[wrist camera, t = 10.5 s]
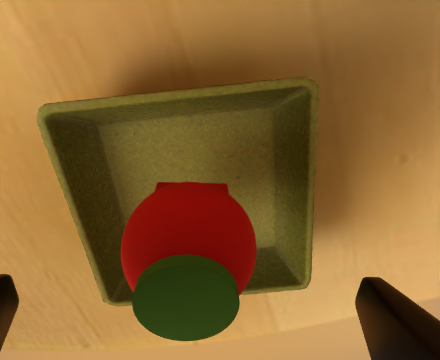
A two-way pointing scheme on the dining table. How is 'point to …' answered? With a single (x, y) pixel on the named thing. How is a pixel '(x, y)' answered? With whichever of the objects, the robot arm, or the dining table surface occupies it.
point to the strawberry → (188, 259)
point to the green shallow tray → (192, 168)
